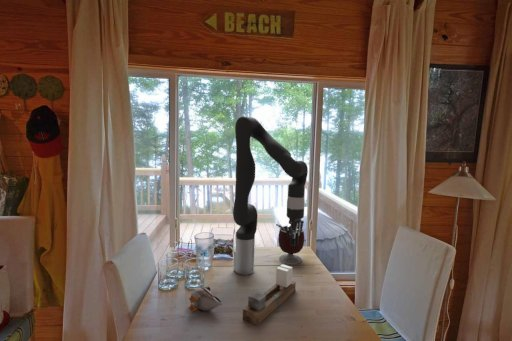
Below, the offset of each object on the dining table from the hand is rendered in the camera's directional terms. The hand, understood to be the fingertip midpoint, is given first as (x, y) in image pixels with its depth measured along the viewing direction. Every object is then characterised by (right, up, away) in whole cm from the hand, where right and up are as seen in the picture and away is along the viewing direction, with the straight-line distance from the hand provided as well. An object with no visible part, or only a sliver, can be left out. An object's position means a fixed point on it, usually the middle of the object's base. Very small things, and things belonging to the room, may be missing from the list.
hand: (294, 244), depth 130 cm
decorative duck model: (-36, -20, -15) cm, 44 cm away
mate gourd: (+1, -16, +31) cm, 35 cm away
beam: (-11, -20, -13) cm, 26 cm away
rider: (-5, -17, -5) cm, 19 cm away
